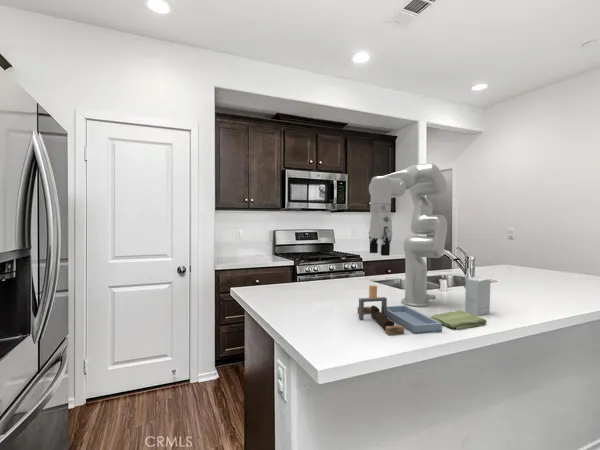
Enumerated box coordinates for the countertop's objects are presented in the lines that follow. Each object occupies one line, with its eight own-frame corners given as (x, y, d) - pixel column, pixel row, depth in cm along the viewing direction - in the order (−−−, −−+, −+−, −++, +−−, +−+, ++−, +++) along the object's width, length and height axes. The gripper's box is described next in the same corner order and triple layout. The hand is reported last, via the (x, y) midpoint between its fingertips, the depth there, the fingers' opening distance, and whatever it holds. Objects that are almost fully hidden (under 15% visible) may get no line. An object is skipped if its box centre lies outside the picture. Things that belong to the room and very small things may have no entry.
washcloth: (427, 321, 125) (427, 312, 125) (460, 316, 131) (460, 308, 131) (454, 332, 113) (454, 323, 113) (489, 326, 119) (490, 318, 119)
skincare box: (477, 310, 139) (477, 276, 139) (490, 314, 134) (491, 278, 133) (464, 312, 135) (465, 277, 135) (477, 316, 130) (478, 280, 130)
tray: (404, 311, 135) (404, 305, 135) (442, 331, 112) (442, 323, 112) (381, 313, 133) (381, 306, 133) (414, 333, 109) (414, 325, 109)
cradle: (370, 312, 134) (370, 306, 134) (404, 334, 109) (404, 327, 109) (357, 312, 133) (357, 307, 133) (388, 335, 108) (388, 328, 108)
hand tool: (394, 331, 112) (395, 318, 112) (383, 332, 112) (383, 318, 111) (378, 315, 131) (378, 304, 131) (368, 315, 130) (368, 304, 130)
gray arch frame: (384, 316, 128) (384, 284, 128) (386, 317, 126) (387, 285, 126) (358, 317, 126) (359, 285, 125) (360, 319, 124) (361, 286, 123)
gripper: (401, 208, 113) (399, 256, 113) (379, 210, 130) (378, 252, 130) (381, 207, 112) (380, 256, 112) (362, 209, 129) (360, 252, 129)
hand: (379, 254), depth 121 cm, fingers open, 9 cm apart
